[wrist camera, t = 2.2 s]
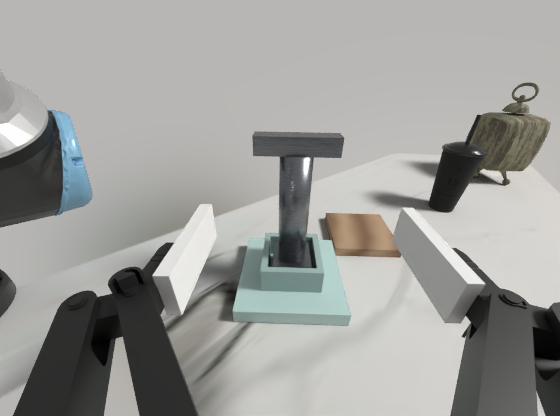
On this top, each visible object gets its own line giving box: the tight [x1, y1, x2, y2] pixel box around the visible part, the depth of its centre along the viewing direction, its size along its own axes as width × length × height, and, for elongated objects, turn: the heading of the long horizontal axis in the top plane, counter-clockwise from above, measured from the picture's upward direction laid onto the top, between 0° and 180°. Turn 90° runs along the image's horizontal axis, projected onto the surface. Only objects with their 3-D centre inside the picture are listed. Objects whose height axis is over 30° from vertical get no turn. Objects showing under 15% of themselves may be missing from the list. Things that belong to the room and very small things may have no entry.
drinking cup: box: [429, 115, 489, 212], centre depth 48 cm, size 8×8×20 cm
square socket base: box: [232, 233, 351, 326], centre depth 33 cm, size 14×14×6 cm
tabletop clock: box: [465, 83, 550, 185], centre depth 63 cm, size 14×9×25 cm, turn 177°
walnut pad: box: [325, 213, 401, 257], centre depth 43 cm, size 11×11×2 cm
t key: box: [253, 132, 344, 268], centre depth 28 cm, size 9×5×19 cm, turn 88°
